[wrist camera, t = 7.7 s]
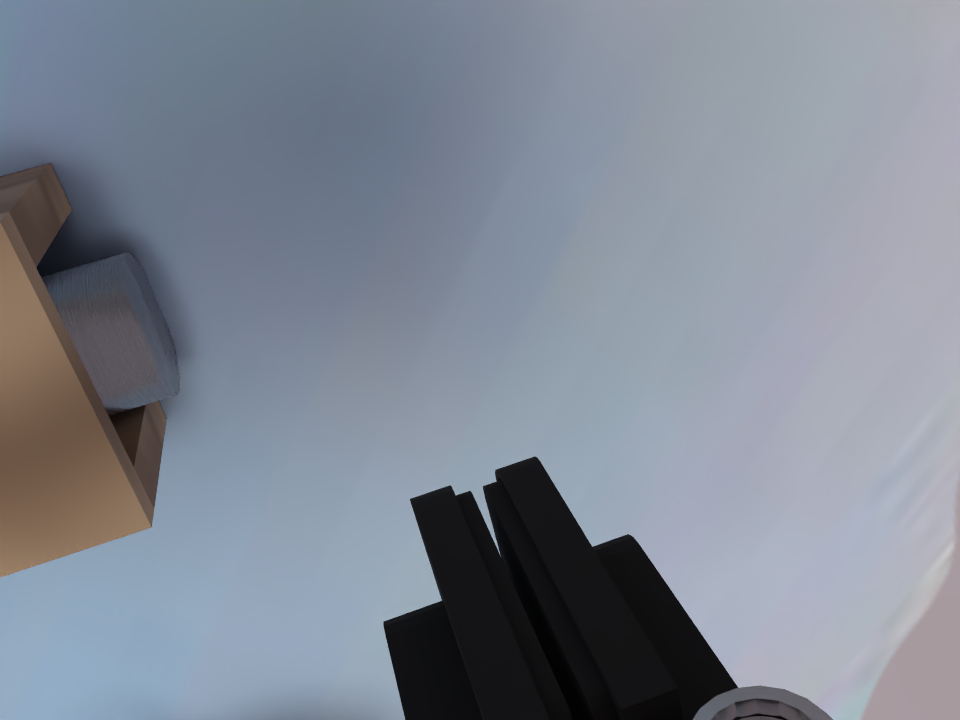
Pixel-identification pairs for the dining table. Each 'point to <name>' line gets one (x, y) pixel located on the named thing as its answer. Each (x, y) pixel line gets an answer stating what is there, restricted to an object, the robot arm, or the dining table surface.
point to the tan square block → (58, 406)
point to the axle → (117, 331)
